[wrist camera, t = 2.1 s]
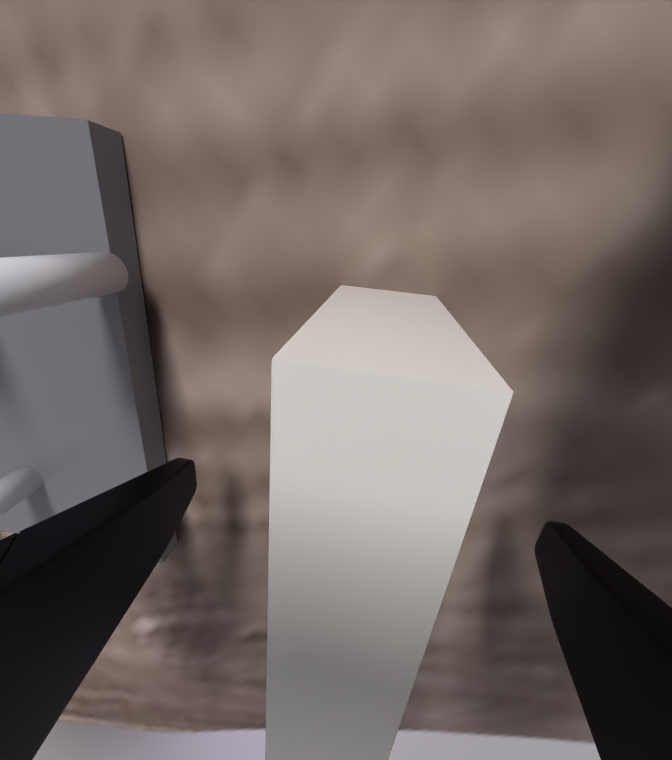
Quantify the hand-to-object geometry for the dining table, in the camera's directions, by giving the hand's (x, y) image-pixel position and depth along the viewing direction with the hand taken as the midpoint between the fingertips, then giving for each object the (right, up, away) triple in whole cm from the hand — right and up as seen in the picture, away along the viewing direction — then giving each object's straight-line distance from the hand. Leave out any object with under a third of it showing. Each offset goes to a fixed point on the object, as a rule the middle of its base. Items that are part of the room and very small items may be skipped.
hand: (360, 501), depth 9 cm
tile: (0, +1, +2) cm, 3 cm away
